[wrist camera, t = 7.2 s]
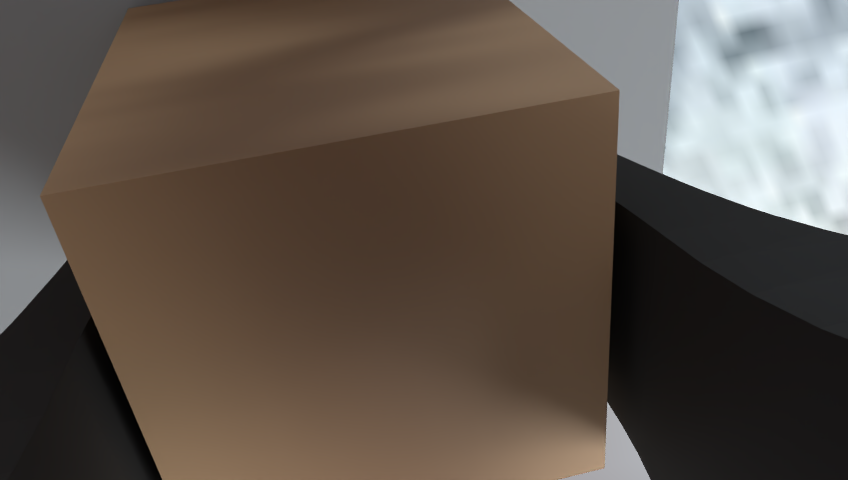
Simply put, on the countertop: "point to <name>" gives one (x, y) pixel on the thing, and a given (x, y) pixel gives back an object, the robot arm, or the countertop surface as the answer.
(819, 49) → the countertop surface
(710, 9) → the countertop surface
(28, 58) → the slate mat
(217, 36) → the walnut block
